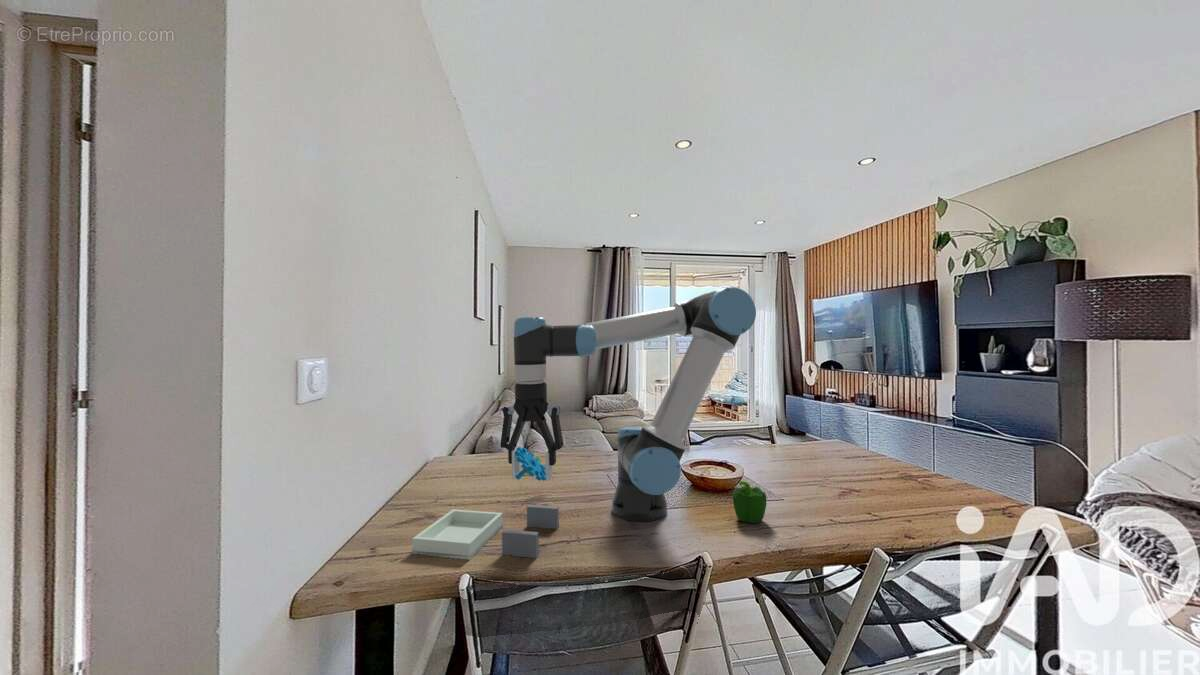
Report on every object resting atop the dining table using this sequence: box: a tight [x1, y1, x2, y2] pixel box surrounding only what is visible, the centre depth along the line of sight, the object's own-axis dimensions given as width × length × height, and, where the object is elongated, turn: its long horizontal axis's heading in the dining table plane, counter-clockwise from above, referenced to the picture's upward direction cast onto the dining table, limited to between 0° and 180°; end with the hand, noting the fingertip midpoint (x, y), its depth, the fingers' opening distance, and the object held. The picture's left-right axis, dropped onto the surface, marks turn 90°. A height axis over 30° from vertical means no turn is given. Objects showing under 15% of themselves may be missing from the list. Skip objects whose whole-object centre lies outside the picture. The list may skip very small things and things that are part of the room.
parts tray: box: [411, 509, 504, 561], centre depth 105 cm, size 14×17×4 cm
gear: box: [515, 446, 546, 482], centre depth 104 cm, size 11×6×10 cm
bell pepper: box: [732, 480, 767, 524], centre depth 114 cm, size 8×8×10 cm
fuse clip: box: [501, 504, 560, 559], centre depth 104 cm, size 8×16×5 cm, turn 168°
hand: (532, 477), depth 104 cm, fingers closed on gear, 8 cm apart
